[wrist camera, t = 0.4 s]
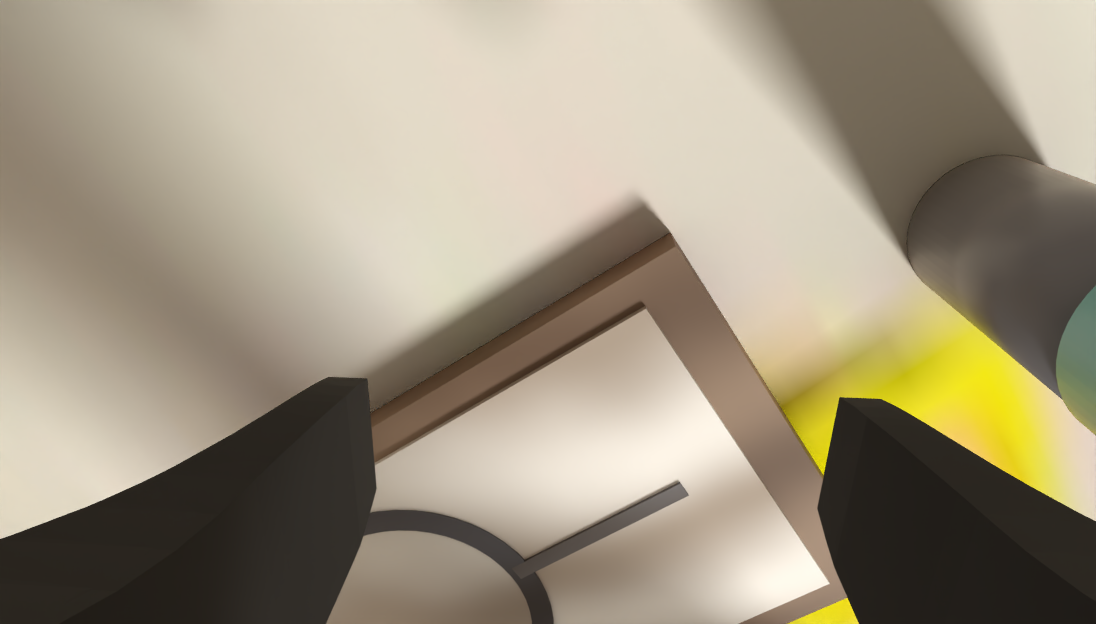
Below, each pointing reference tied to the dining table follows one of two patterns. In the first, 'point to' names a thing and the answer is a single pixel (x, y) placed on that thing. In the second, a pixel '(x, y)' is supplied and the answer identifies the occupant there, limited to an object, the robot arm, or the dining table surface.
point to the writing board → (595, 474)
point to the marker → (1018, 266)
